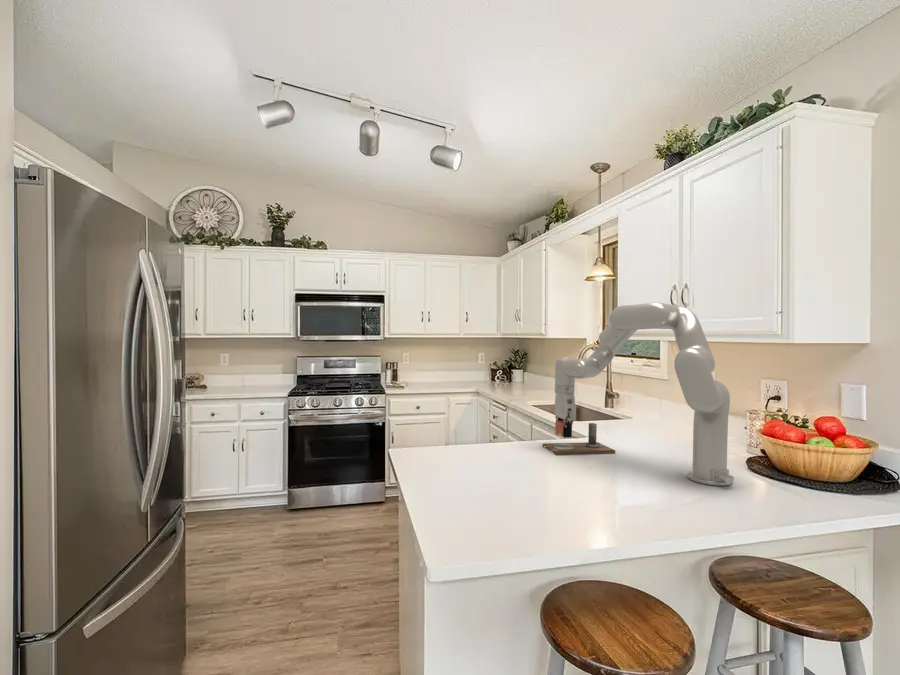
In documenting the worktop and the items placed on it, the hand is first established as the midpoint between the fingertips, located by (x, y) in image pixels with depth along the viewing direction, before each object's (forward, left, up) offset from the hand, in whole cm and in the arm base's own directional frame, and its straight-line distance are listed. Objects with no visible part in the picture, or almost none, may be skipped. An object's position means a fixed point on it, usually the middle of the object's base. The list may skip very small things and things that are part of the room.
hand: (563, 434), depth 182 cm
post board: (0, -6, -6) cm, 9 cm away
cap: (0, 0, 0) cm, 0 cm away
